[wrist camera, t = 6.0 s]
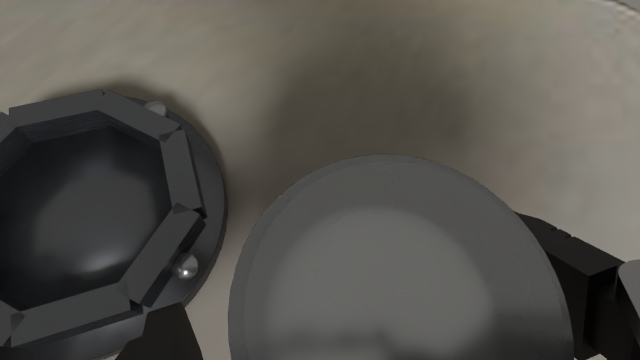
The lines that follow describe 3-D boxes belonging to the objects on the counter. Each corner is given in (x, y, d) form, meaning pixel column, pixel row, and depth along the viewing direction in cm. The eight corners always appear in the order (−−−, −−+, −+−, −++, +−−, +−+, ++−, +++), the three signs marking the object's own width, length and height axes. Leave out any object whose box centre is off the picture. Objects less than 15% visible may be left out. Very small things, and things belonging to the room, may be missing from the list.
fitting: (289, 441, 13) (286, 621, 4) (251, 294, 15) (193, 194, 6) (423, 386, 14) (659, 431, 5) (371, 255, 16) (475, 119, 7)
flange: (-71, 417, 13) (-138, 427, 11) (-53, 140, 17) (-99, 111, 15) (256, 307, 15) (251, 299, 13) (199, 87, 19) (189, 55, 17)
